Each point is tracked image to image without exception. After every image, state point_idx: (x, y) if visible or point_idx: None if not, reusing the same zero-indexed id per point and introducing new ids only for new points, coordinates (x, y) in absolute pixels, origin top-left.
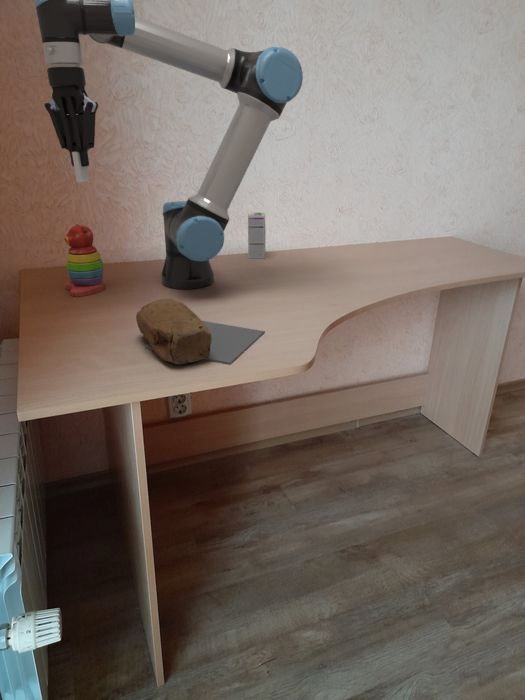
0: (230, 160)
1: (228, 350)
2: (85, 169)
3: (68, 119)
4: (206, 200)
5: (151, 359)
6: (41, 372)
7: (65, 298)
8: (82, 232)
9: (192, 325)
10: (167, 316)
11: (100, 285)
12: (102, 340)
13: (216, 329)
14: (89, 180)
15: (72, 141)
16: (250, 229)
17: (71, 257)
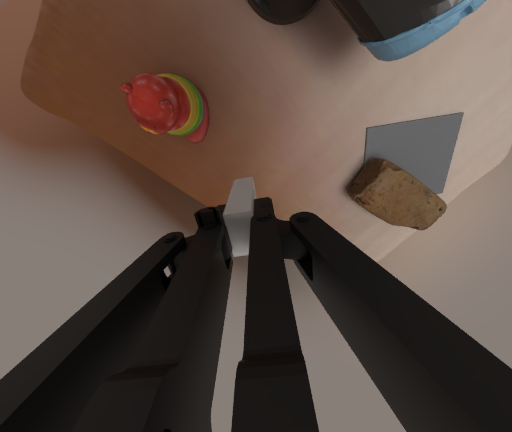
0: None
1: (435, 174)
2: (254, 197)
3: (206, 405)
4: None
5: (375, 216)
6: None
7: (196, 152)
8: (170, 112)
9: (432, 210)
10: (403, 209)
11: (204, 102)
12: (317, 211)
13: (409, 138)
14: (252, 176)
15: (226, 273)
16: None
17: (172, 132)
